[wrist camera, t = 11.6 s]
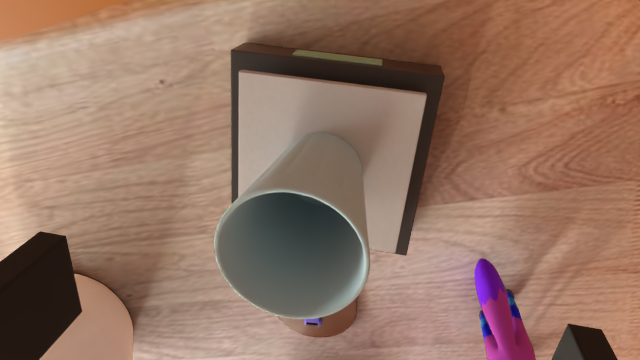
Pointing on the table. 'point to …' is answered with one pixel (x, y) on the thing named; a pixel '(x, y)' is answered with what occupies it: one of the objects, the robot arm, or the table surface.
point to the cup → (299, 232)
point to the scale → (338, 123)
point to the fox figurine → (500, 317)
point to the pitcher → (95, 327)
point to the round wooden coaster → (324, 323)
